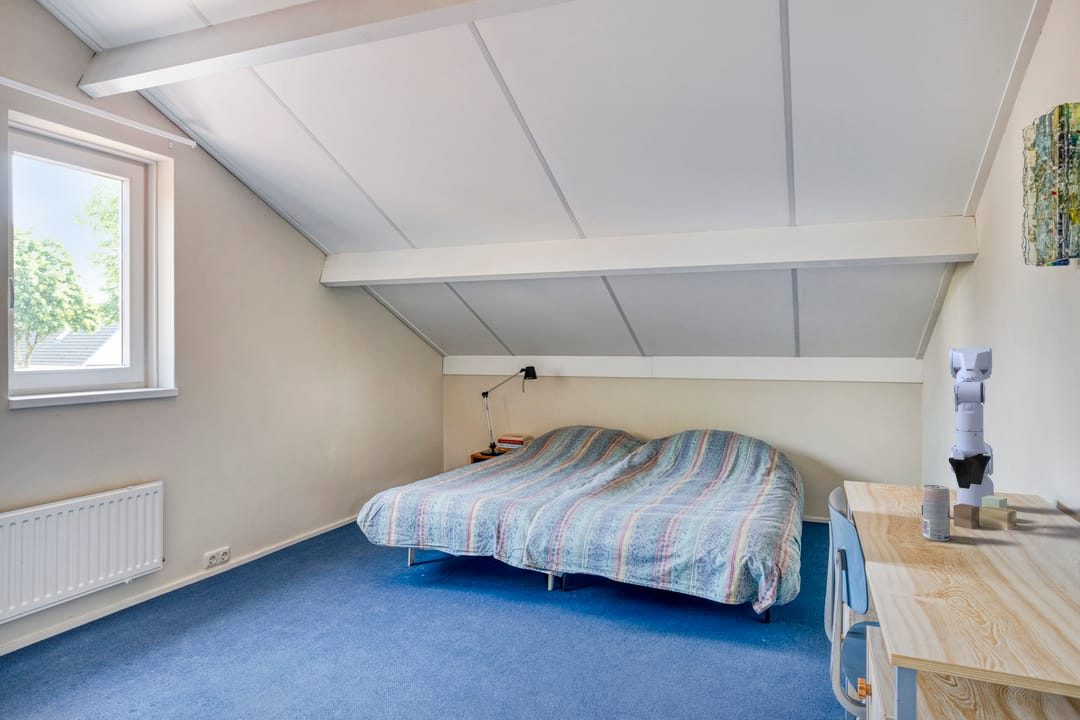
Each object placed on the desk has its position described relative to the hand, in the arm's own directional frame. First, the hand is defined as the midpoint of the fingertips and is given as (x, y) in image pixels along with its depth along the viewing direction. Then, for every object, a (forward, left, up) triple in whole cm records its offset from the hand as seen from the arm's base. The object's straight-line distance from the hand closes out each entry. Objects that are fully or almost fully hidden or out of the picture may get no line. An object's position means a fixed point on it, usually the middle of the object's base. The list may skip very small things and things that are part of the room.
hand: (970, 486), depth 162 cm
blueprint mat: (-8, +2, -10) cm, 13 cm away
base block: (-5, +4, -10) cm, 11 cm away
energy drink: (+17, +1, -10) cm, 20 cm away
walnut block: (+1, 0, -10) cm, 10 cm away
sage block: (-11, 0, -10) cm, 15 cm away
